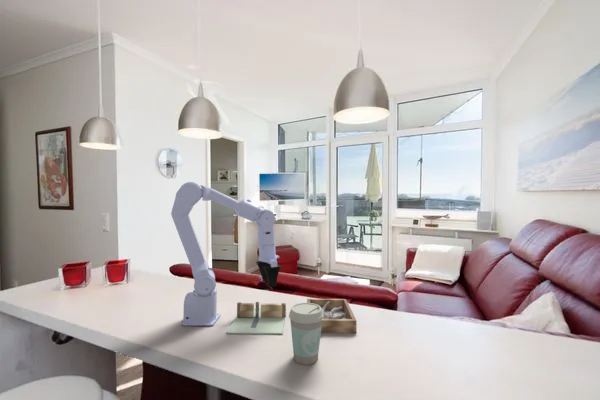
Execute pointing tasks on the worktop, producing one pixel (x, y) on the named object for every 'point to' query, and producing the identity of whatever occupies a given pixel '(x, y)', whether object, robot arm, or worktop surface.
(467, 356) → the worktop surface
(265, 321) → the mat
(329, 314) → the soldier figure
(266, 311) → the rail
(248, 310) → the fixed rail
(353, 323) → the box
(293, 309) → the coffee cup
